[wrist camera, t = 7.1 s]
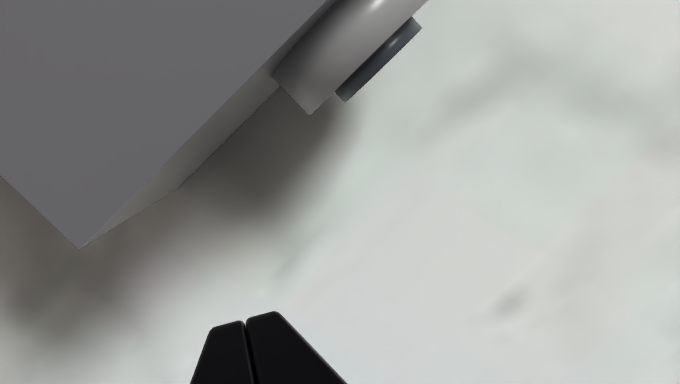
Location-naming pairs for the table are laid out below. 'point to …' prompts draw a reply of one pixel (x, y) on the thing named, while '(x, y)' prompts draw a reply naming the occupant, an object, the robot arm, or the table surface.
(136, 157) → the block
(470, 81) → the table surface
